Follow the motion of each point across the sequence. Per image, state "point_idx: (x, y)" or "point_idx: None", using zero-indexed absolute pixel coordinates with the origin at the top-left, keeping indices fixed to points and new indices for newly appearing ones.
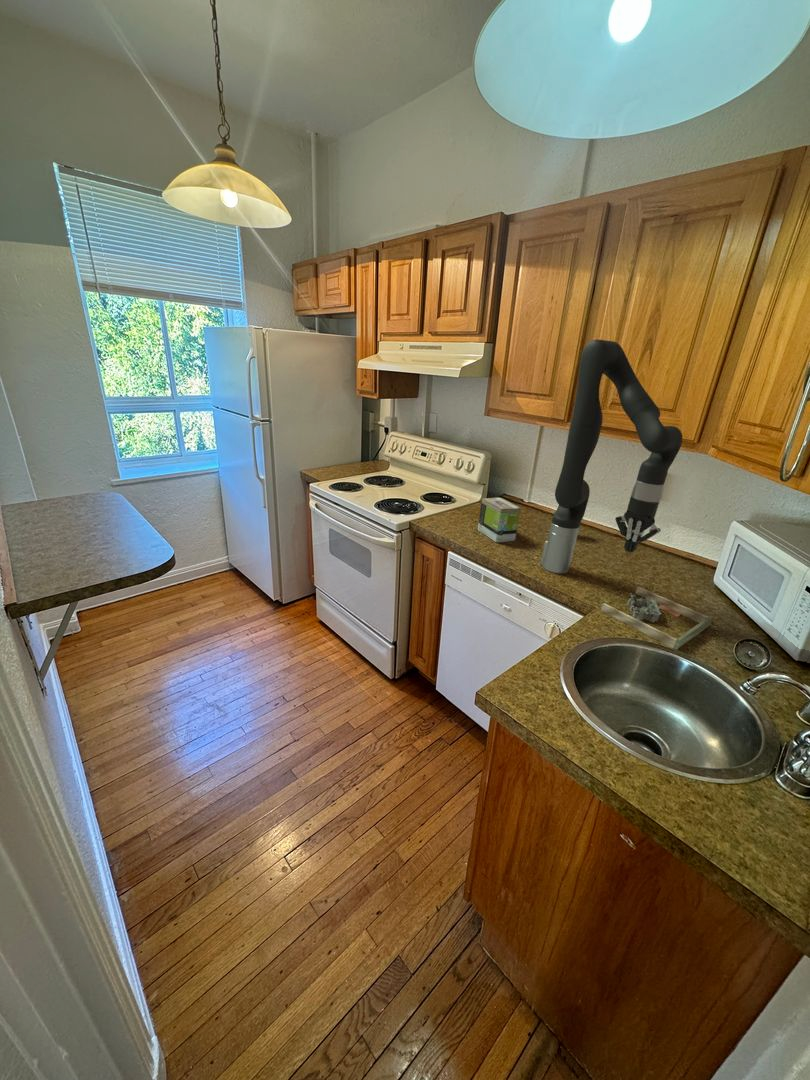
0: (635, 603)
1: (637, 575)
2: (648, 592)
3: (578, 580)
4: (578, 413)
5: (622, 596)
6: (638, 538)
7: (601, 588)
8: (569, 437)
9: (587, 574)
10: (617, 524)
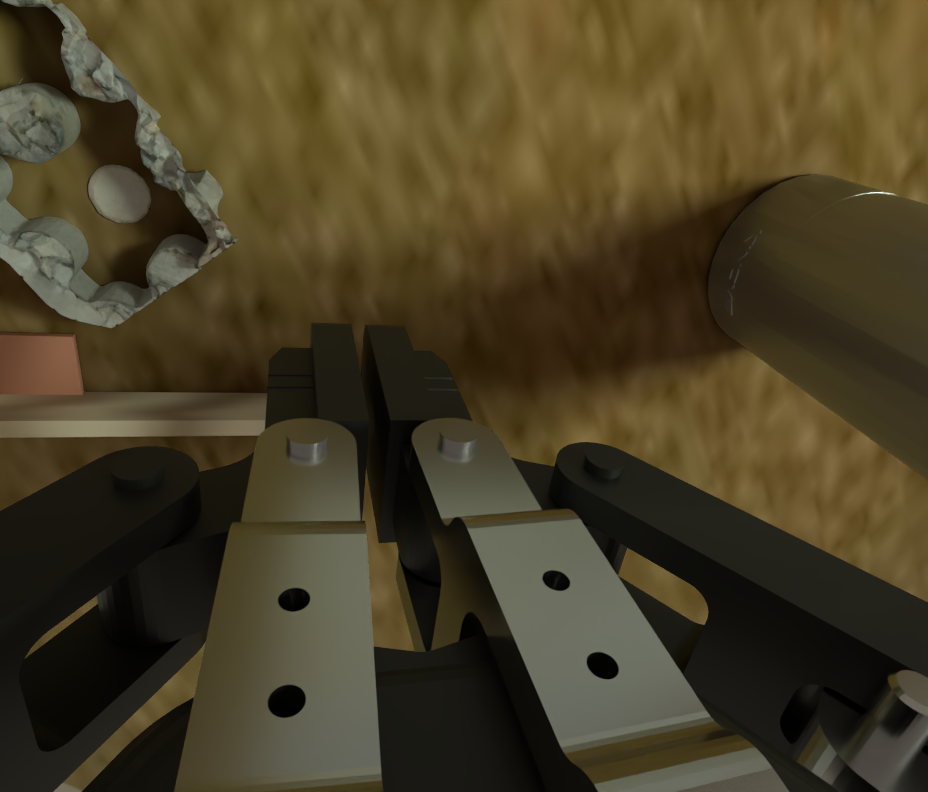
0: (185, 238)
1: (392, 601)
2: (191, 417)
3: (615, 232)
4: None
5: (311, 279)
6: (235, 515)
7: (459, 262)
8: None
9: (600, 367)
10: (876, 581)
